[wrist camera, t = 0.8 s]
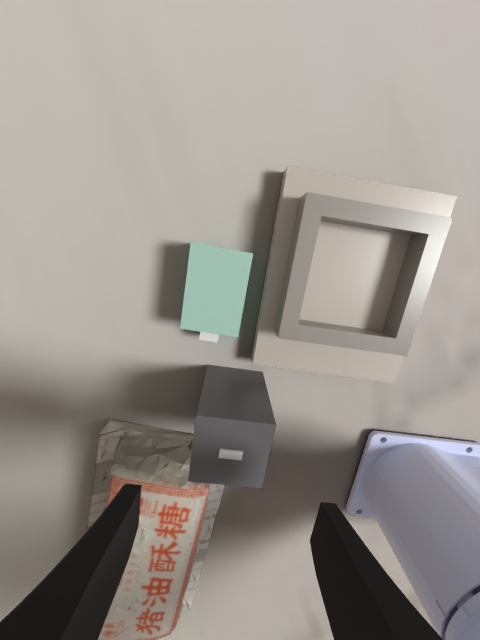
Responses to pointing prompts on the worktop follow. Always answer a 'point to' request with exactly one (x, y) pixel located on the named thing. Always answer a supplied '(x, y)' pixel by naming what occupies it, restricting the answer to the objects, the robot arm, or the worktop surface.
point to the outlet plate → (347, 274)
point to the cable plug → (215, 291)
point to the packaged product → (154, 526)
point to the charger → (232, 429)
